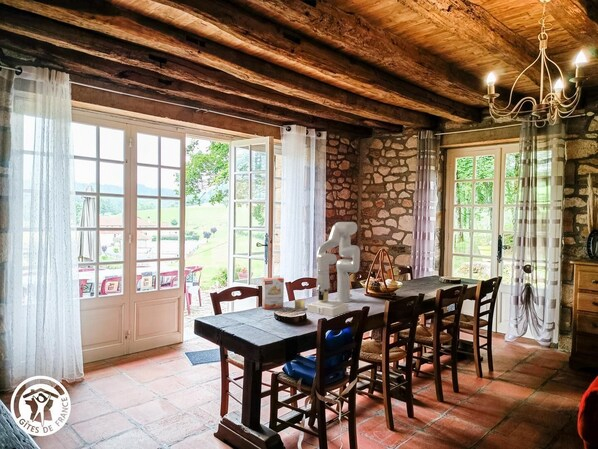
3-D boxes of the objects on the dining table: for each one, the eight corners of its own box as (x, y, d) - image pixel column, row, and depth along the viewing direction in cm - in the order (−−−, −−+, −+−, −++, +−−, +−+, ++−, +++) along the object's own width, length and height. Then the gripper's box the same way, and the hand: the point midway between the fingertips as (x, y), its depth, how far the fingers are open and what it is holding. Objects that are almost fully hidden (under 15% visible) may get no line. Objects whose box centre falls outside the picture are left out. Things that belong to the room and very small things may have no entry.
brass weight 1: (299, 307, 287) (299, 299, 287) (304, 308, 284) (305, 299, 284) (294, 308, 283) (294, 300, 283) (300, 309, 280) (300, 301, 280)
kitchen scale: (323, 306, 290) (323, 298, 290) (348, 310, 278) (348, 302, 278) (306, 312, 273) (306, 303, 273) (332, 316, 261) (332, 307, 261)
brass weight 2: (322, 299, 282) (322, 290, 282) (328, 300, 279) (328, 291, 278) (318, 300, 278) (318, 291, 278) (324, 301, 275) (324, 292, 275)
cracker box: (264, 309, 280) (264, 279, 280) (262, 307, 286) (262, 277, 285) (283, 308, 285) (284, 278, 285) (281, 306, 291) (281, 276, 290)
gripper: (325, 271, 287) (325, 296, 287) (311, 273, 273) (311, 300, 273) (334, 271, 282) (334, 298, 283) (321, 274, 269) (320, 302, 269)
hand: (323, 299), depth 278 cm, fingers closed on brass weight 2, 5 cm apart
